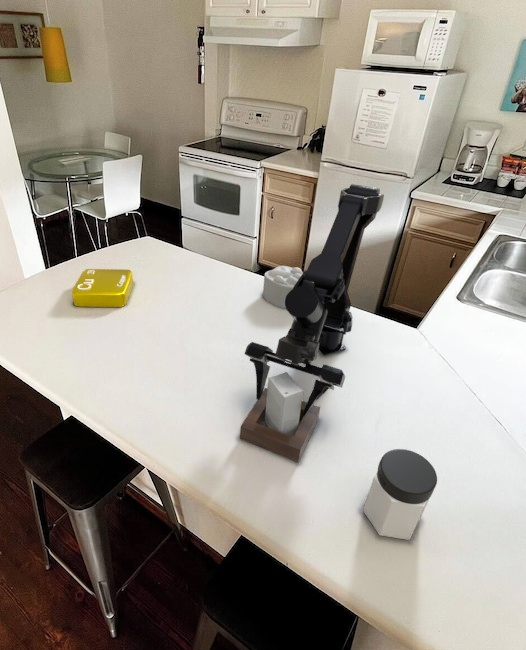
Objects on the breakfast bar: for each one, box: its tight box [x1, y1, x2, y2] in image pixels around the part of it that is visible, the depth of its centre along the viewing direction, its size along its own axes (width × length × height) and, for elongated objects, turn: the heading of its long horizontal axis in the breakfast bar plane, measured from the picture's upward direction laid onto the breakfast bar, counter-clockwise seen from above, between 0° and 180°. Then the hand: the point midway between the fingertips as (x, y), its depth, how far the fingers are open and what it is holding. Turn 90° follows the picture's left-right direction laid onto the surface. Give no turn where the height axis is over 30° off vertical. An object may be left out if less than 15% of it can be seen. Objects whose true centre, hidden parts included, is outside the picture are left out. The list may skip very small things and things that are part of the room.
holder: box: [239, 387, 321, 463], centre depth 87 cm, size 12×12×4 cm
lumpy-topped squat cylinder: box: [262, 265, 304, 310], centre depth 126 cm, size 10×13×9 cm
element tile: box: [71, 268, 134, 308], centre depth 129 cm, size 15×15×5 cm
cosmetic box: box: [264, 371, 304, 437], centre depth 85 cm, size 6×4×12 cm
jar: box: [362, 448, 438, 541], centre depth 70 cm, size 9×8×12 cm
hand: (280, 407), depth 83 cm, fingers open, 9 cm apart
